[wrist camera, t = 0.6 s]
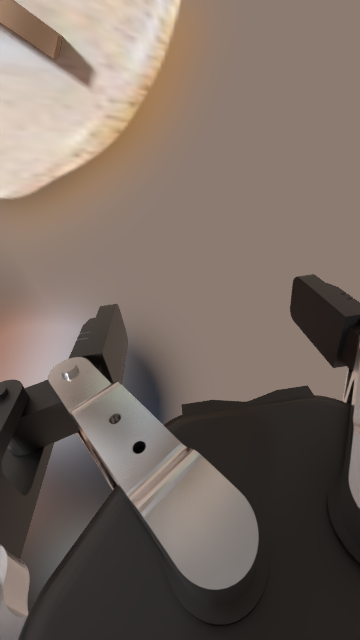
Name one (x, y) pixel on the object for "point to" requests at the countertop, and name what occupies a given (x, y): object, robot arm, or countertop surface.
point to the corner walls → (30, 28)
